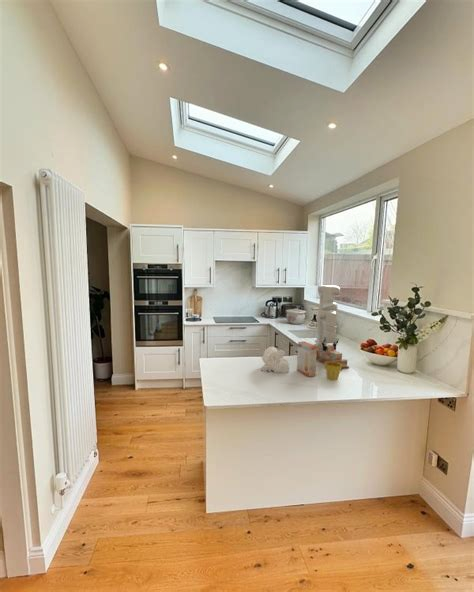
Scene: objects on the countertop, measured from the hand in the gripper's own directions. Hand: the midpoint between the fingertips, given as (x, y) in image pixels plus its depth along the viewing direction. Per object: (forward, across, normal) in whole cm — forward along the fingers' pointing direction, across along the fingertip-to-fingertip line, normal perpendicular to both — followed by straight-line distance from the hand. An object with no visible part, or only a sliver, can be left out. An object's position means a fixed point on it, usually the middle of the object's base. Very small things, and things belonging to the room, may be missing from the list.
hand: (329, 350), depth 226 cm
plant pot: (+10, +20, +27) cm, 35 cm away
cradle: (+10, 0, 0) cm, 10 cm away
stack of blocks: (+9, 0, 0) cm, 9 cm away
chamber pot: (+10, -72, -148) cm, 165 cm away
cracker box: (+10, +31, +13) cm, 35 cm away
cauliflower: (+10, +49, 0) cm, 50 cm away
